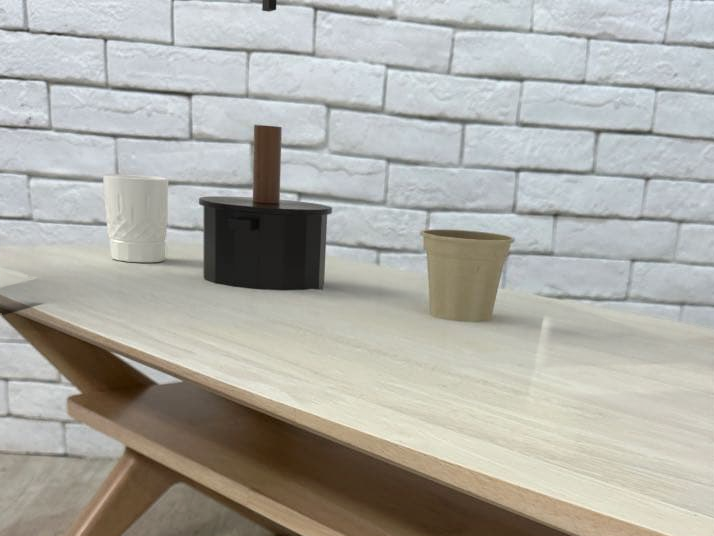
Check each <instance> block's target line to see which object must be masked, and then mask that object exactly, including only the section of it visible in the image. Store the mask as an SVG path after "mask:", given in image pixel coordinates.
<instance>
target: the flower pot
mask: <svg viewBox="0 0 714 536" xmlns="http://www.w3.org/2000/svg"><path fill="white" fill-rule="evenodd" d="M419 235H420V236H422V237H423V249H424V251H425V252H426V262H427V263H426V264H427V265H426V266H427V278H428V279H427V281H428V295H429V298H428V300H429V311H430V312H429V315H430V316H432V317H434V318H437V319H441V320H445V321H453V322H462V323H484V322H485V323H486V322H490V321H491V320H492V316H493V313H494V308H495V304H496V299H497V294H498V290H499V286H500V281H501V277H502V272H503V269H504V265H505V261H506V259H507V257H508V256H509V253H510V248H511V244H513V243H515V242H516V239H515V237H513V236H511V235H507V234H501V233H495V232H486V231H478V230H465V229H451V228H450V229H449V228H448V229H447V228H445V229H444V228H443V229H439V228H436V229H435V228H434V229H433V228H432V229H430V228H429V229H422V230H420V231H419Z"/></svg>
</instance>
